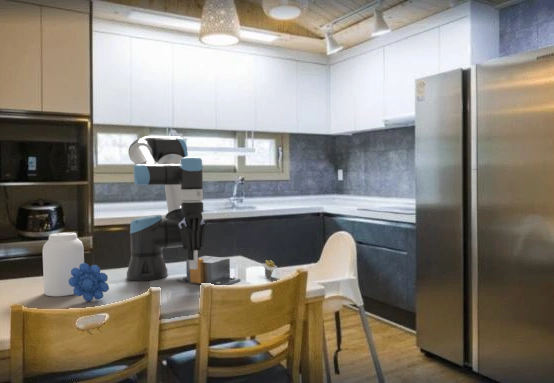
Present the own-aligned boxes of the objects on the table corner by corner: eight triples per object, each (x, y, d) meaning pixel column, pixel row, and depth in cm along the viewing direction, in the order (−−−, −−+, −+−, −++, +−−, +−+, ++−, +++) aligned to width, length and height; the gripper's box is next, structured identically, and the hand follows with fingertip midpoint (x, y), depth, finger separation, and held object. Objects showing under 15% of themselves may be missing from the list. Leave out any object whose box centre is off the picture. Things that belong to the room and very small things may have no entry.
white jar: (82, 295, 145) (80, 234, 145) (40, 298, 142) (37, 236, 141) (87, 286, 157) (85, 230, 157) (48, 289, 154) (46, 232, 153)
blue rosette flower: (66, 306, 133) (64, 266, 132) (70, 300, 139) (69, 262, 139) (107, 303, 135) (106, 264, 135) (110, 297, 142) (109, 260, 142)
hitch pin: (190, 281, 158) (189, 258, 158) (219, 273, 171) (218, 251, 171) (200, 283, 155) (200, 259, 155) (229, 274, 168) (228, 252, 168)
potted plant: (278, 273, 176) (278, 256, 175) (293, 283, 158) (292, 264, 158) (249, 275, 172) (249, 258, 172) (260, 286, 155) (260, 267, 155)
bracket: (176, 281, 163) (176, 259, 162) (199, 275, 173) (199, 254, 172) (218, 287, 152) (218, 264, 151) (240, 280, 162) (239, 258, 161)
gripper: (186, 202, 148) (188, 273, 148) (212, 200, 158) (214, 266, 159) (170, 202, 152) (172, 271, 152) (197, 200, 163) (198, 264, 163)
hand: (193, 268), depth 156 cm, fingers closed
